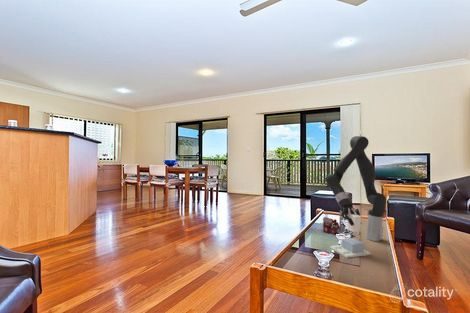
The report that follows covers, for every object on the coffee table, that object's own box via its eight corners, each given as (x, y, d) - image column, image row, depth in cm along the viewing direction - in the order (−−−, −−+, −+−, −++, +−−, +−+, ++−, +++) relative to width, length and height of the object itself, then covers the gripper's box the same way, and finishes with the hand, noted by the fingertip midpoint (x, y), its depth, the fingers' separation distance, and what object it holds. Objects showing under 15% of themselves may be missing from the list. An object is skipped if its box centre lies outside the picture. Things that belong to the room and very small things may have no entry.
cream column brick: (353, 228, 156) (354, 214, 156) (359, 231, 152) (361, 216, 151) (347, 229, 155) (348, 214, 154) (353, 232, 150) (354, 216, 149)
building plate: (352, 245, 163) (352, 236, 162) (370, 254, 149) (371, 244, 149) (329, 247, 157) (330, 238, 156) (346, 257, 144) (347, 247, 143)
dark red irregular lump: (338, 235, 180) (339, 221, 179) (320, 231, 187) (321, 217, 187) (340, 233, 185) (341, 219, 185) (323, 229, 193) (324, 216, 192)
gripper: (337, 197, 157) (350, 222, 146) (355, 197, 162) (369, 221, 151) (331, 203, 162) (343, 228, 151) (348, 203, 167) (361, 227, 156)
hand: (356, 224), depth 151 cm, fingers closed on cream column brick, 5 cm apart
